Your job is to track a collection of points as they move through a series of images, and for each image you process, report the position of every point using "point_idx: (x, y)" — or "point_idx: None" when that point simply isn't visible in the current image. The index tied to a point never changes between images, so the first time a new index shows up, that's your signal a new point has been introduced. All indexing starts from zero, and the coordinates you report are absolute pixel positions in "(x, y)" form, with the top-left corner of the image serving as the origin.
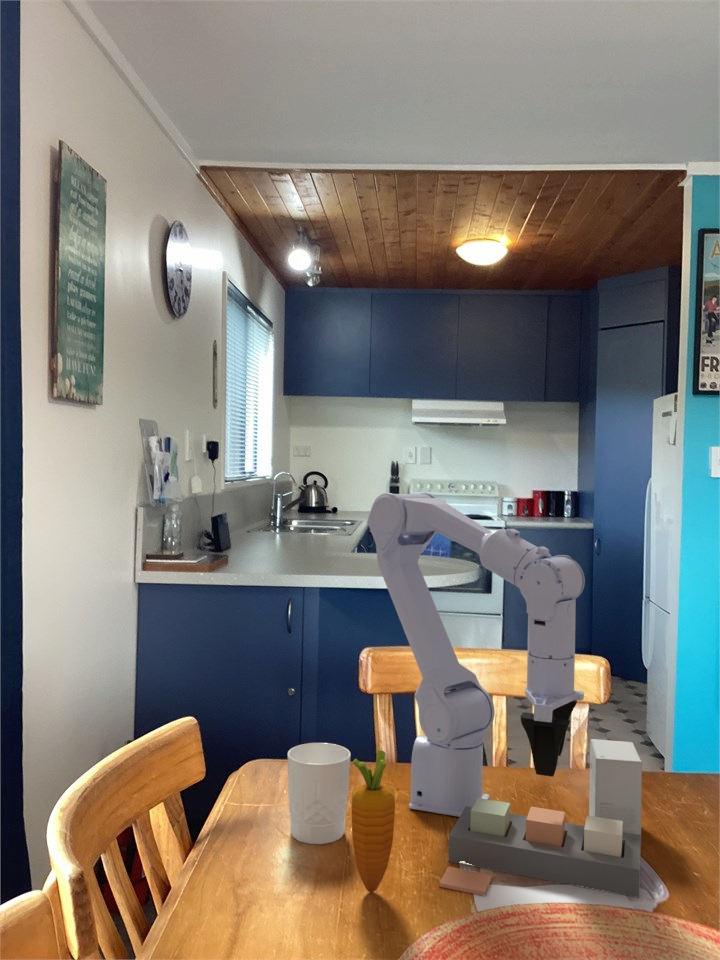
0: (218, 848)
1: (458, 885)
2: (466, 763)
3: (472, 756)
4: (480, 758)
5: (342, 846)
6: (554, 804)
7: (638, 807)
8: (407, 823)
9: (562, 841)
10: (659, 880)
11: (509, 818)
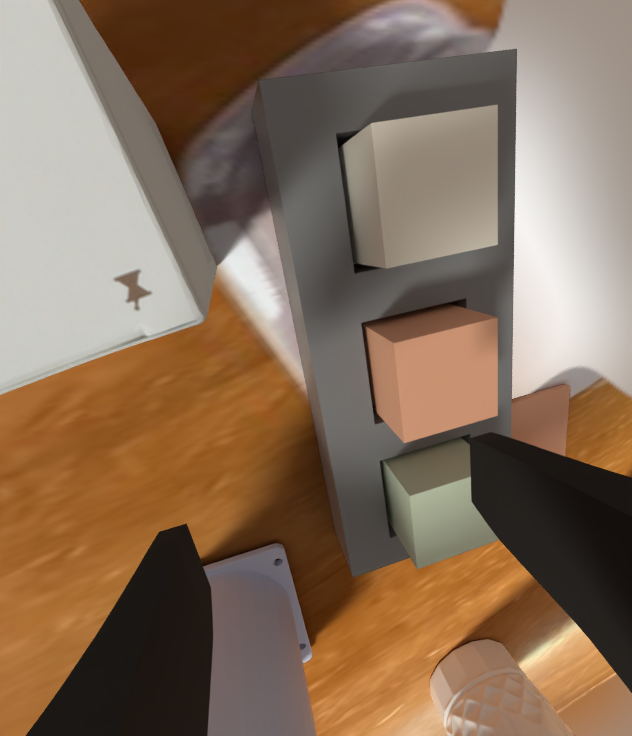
0: (555, 701)
1: (562, 431)
2: (290, 709)
3: (276, 731)
4: (228, 714)
5: (493, 623)
6: (21, 454)
7: (130, 85)
8: (367, 615)
9: (423, 314)
10: (345, 32)
11: (399, 469)
